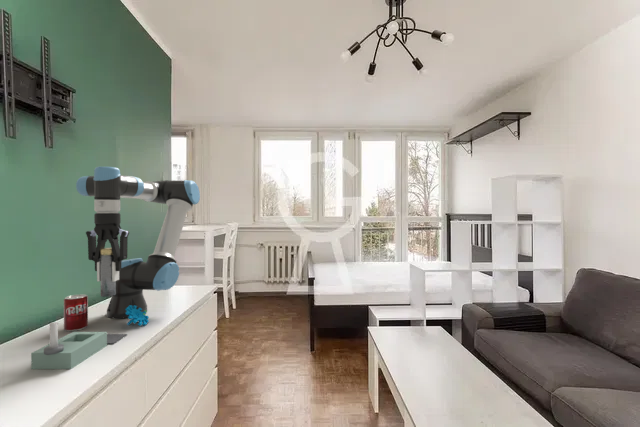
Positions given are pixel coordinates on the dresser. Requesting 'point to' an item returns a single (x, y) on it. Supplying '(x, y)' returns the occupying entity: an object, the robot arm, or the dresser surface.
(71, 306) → the soda can
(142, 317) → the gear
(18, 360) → the dresser surface
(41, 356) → the fixture block
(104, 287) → the silver tall can
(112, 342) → the mat
